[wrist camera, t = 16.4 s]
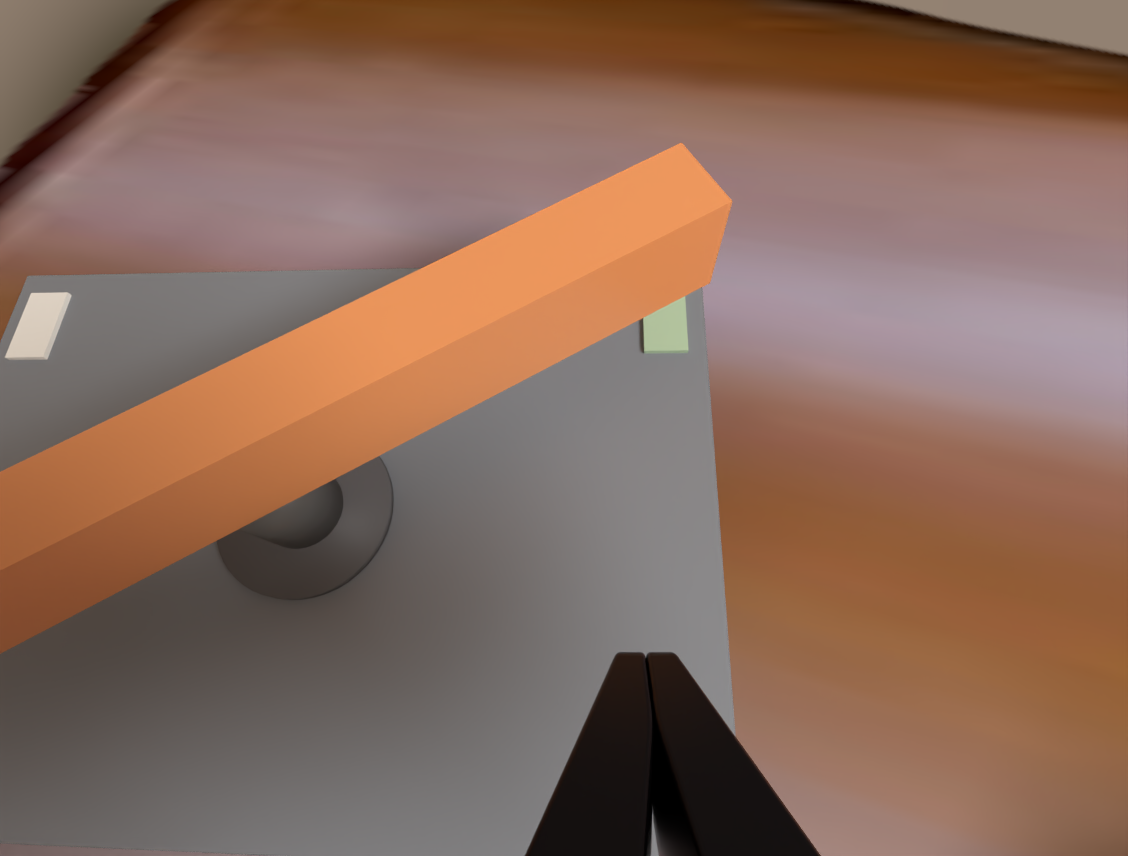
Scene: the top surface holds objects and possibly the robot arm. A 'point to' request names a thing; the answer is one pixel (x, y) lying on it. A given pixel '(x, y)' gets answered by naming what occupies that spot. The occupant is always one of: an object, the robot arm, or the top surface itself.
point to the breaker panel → (359, 592)
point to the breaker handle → (345, 393)
